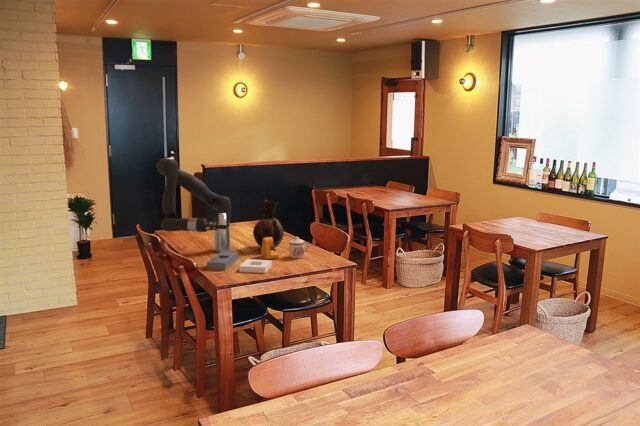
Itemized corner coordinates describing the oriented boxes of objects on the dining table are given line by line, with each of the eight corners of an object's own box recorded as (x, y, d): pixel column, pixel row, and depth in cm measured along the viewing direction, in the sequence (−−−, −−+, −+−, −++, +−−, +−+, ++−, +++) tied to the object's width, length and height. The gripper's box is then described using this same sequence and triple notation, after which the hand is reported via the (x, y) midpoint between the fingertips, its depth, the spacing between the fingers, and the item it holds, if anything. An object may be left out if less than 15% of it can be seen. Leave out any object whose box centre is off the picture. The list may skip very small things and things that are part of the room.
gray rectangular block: (221, 257, 327) (221, 251, 326) (238, 258, 325) (238, 251, 324) (207, 269, 303) (207, 262, 303) (225, 270, 302) (225, 263, 301)
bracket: (279, 259, 325) (279, 238, 323) (267, 260, 322) (267, 239, 320) (273, 254, 335) (272, 234, 332) (261, 255, 332) (261, 235, 330)
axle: (220, 242, 315) (220, 212, 311) (227, 243, 314) (227, 212, 311) (218, 244, 311) (217, 214, 307) (225, 244, 310) (224, 214, 307)
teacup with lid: (292, 259, 324) (292, 239, 322) (286, 255, 332) (286, 236, 330) (311, 257, 329) (311, 237, 327) (305, 253, 337) (305, 234, 335)
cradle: (246, 264, 313) (246, 259, 313) (271, 265, 311) (271, 260, 311) (239, 271, 300) (239, 266, 299) (265, 273, 298) (265, 267, 297)
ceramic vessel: (247, 246, 353) (247, 199, 347) (272, 243, 362) (272, 196, 357) (263, 254, 335) (263, 204, 330) (289, 250, 345) (289, 201, 339)
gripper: (192, 221, 305) (223, 222, 302) (202, 215, 319) (231, 216, 316) (193, 234, 306) (223, 235, 304) (202, 228, 320) (231, 230, 318)
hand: (227, 226), depth 310 cm, fingers closed on axle, 4 cm apart
